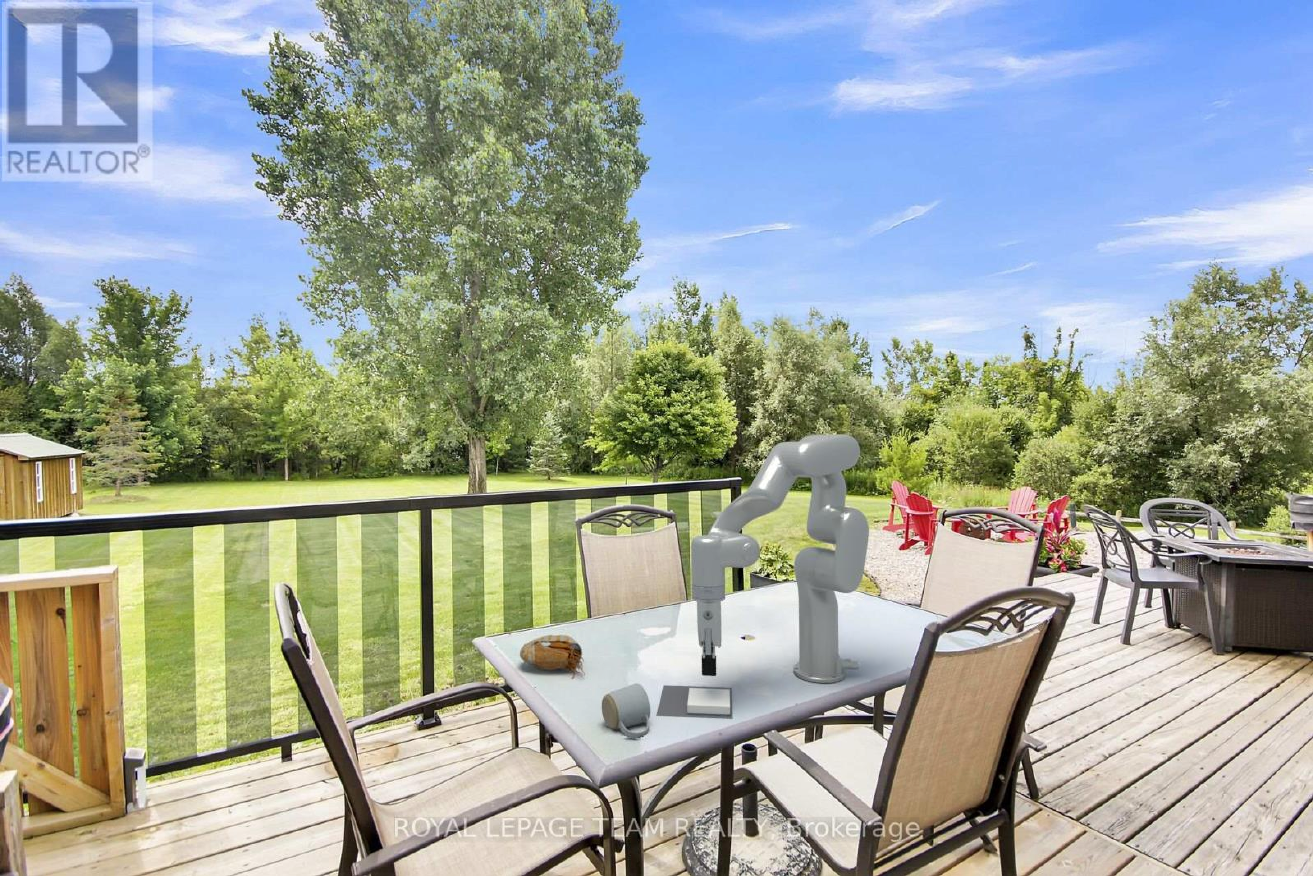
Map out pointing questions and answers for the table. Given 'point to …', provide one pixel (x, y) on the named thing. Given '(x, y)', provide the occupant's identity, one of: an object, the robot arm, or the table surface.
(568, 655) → the nautilus
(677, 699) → the mat
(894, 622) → the table surface
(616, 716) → the ceramic mug
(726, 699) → the tile
